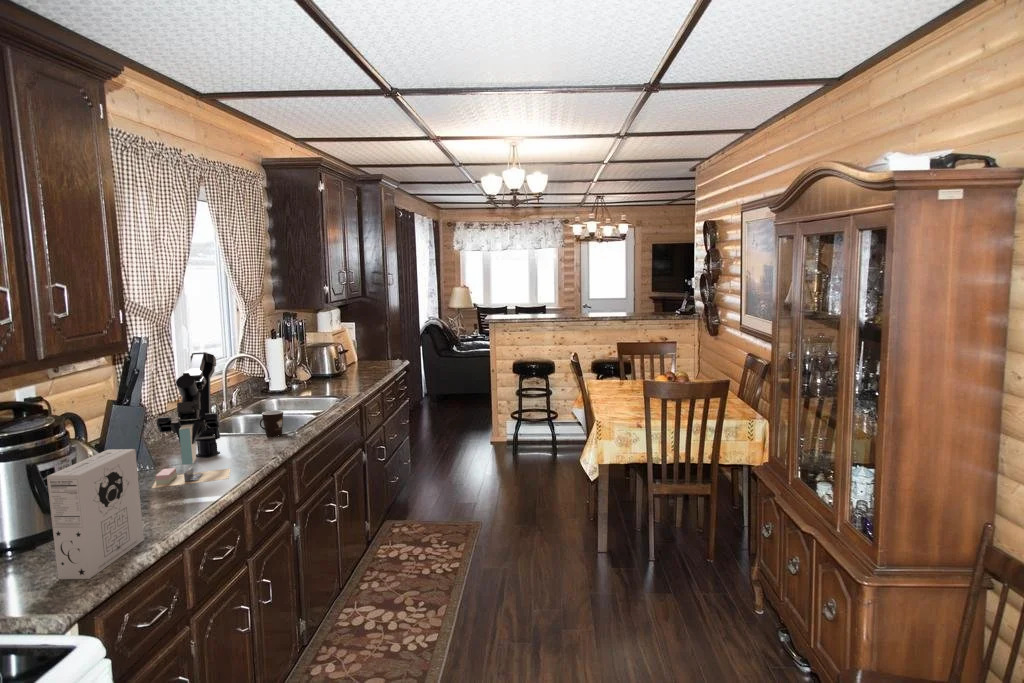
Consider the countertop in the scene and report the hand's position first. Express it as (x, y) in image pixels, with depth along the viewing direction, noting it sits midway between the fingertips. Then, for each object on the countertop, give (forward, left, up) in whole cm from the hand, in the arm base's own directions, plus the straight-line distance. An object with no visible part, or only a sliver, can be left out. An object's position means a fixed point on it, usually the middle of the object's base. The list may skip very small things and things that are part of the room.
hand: (186, 444), depth 217 cm
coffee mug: (-15, +58, -14) cm, 62 cm away
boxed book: (-1, +1, -6) cm, 7 cm away
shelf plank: (-1, +2, -13) cm, 14 cm away
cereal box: (+25, -52, -14) cm, 59 cm away
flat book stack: (-7, -3, -12) cm, 14 cm away
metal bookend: (0, +2, -12) cm, 12 cm away
